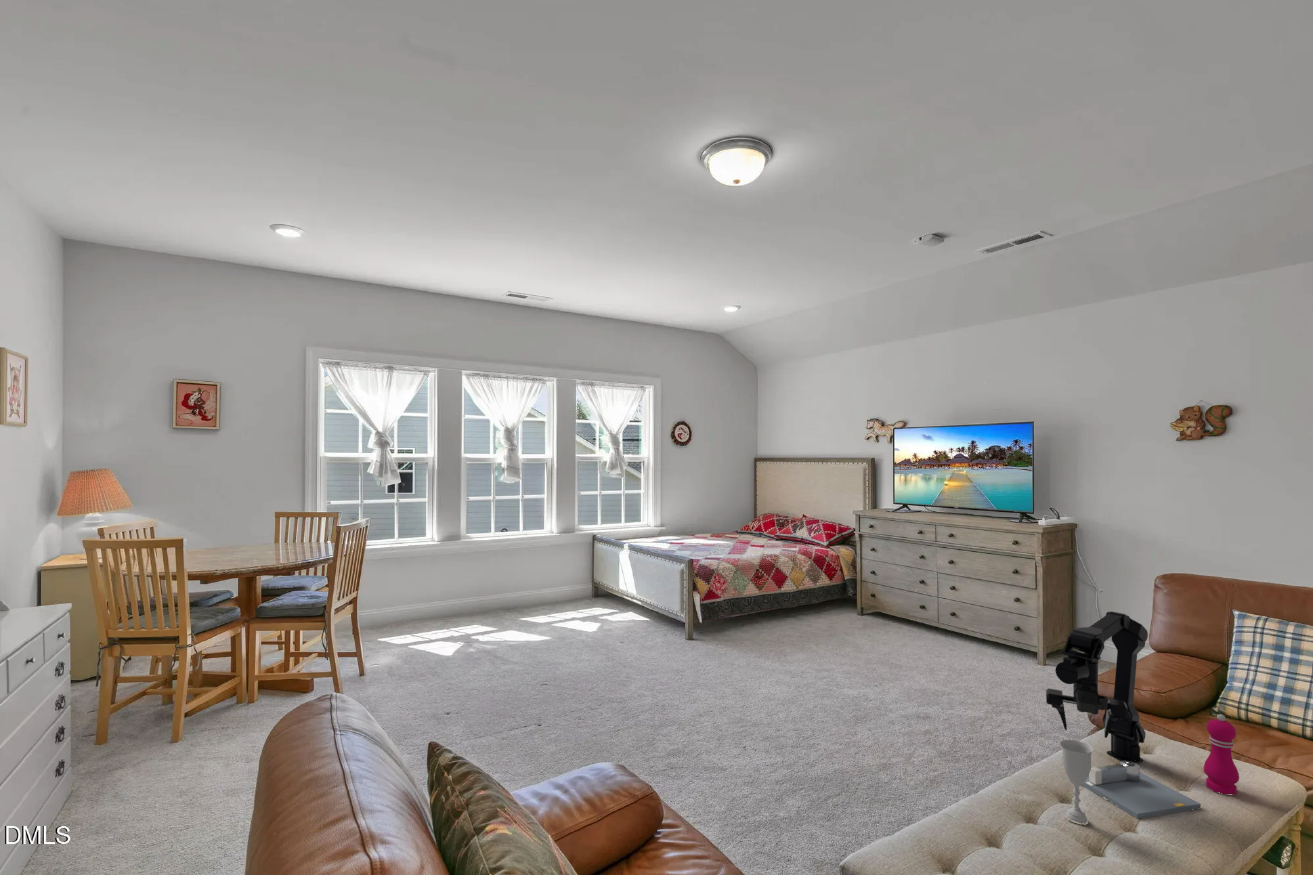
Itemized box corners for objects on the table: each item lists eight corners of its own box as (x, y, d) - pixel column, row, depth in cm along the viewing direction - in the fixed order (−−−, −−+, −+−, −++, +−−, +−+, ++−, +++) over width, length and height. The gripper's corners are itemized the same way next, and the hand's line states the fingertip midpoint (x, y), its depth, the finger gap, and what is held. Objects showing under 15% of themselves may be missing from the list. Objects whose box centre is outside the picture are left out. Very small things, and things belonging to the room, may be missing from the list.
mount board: (1068, 777, 180) (1068, 772, 180) (1127, 769, 185) (1127, 764, 185) (1137, 818, 161) (1137, 813, 161) (1200, 808, 165) (1200, 803, 165)
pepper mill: (1246, 797, 170) (1246, 721, 170) (1214, 794, 172) (1214, 718, 172) (1227, 783, 177) (1227, 710, 177) (1197, 780, 179) (1197, 707, 179)
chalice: (1082, 830, 155) (1082, 755, 155) (1053, 816, 161) (1053, 743, 161) (1099, 822, 159) (1099, 748, 159) (1071, 808, 165) (1071, 737, 165)
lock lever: (1128, 772, 180) (1128, 757, 180) (1144, 780, 176) (1144, 765, 176) (1085, 778, 177) (1085, 763, 177) (1099, 787, 172) (1099, 771, 172)
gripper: (1047, 679, 178) (1047, 737, 177) (1131, 693, 168) (1131, 753, 168) (1046, 667, 187) (1045, 722, 187) (1125, 679, 178) (1125, 737, 178)
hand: (1085, 733), depth 180 cm, fingers open, 9 cm apart
